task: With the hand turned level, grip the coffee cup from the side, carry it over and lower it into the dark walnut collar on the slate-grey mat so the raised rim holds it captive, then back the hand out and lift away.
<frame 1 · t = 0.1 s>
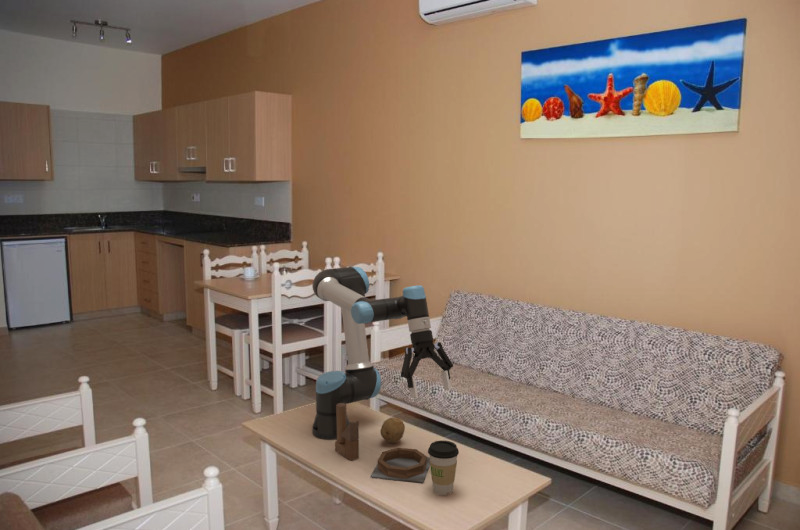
hand: (431, 393, 204), 28 cm above the table, tool tilted 20°, fingers open, 13 cm apart
coffee cup: (442, 490, 195), on the table
wooden block: (346, 455, 221), on the table
cup collar: (402, 468, 210), on the table
brown round lump: (392, 443, 230), on the table
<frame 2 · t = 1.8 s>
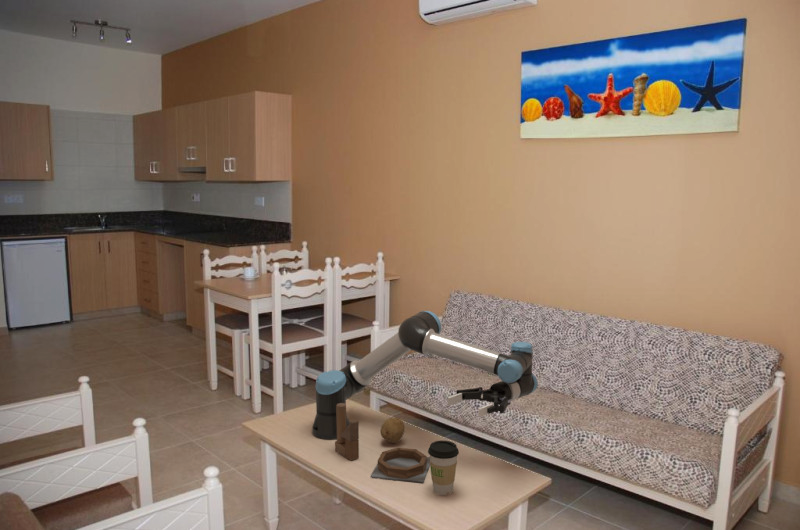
hand: (463, 407, 198), 25 cm above the table, tool horizontal, fingers open, 13 cm apart
nothing on the table moved.
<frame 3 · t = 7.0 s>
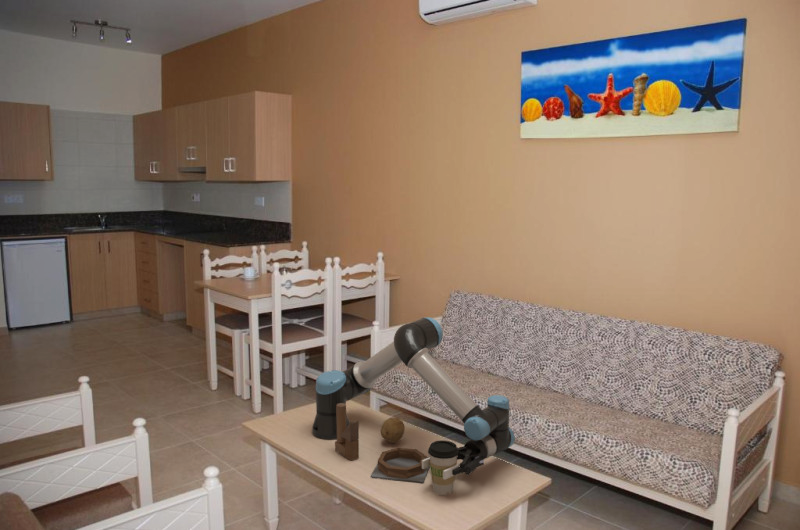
hand: (433, 469, 191), 9 cm above the table, tool horizontal, fingers closed on coffee cup, 9 cm apart
coffee cup: (443, 490, 195), on the table, touching gripper
everything else where it was.
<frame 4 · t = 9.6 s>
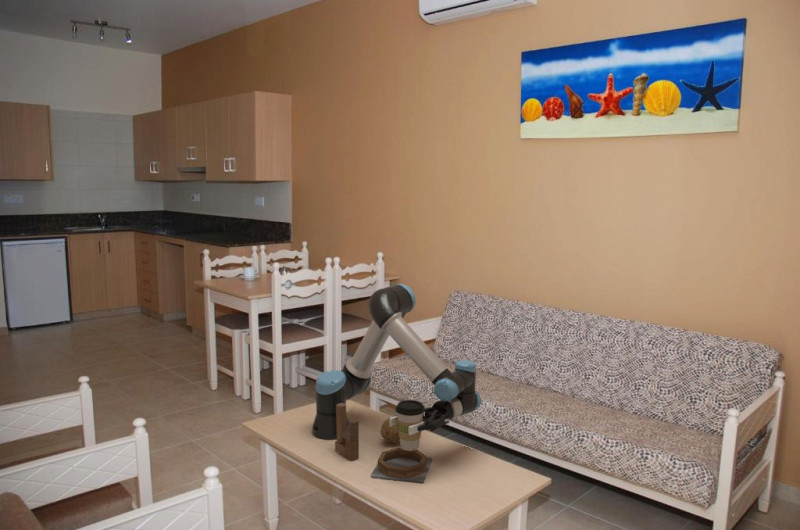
hand: (399, 426, 202), 18 cm above the table, tool horizontal, fingers closed on coffee cup, 9 cm apart
coffee cup: (409, 447, 206), point 9 cm above the table, touching gripper
everything else where it was.
when the fingers open (11 cm above the table, at t = 12.5 s): coffee cup drops 1 cm, resting on cup collar.
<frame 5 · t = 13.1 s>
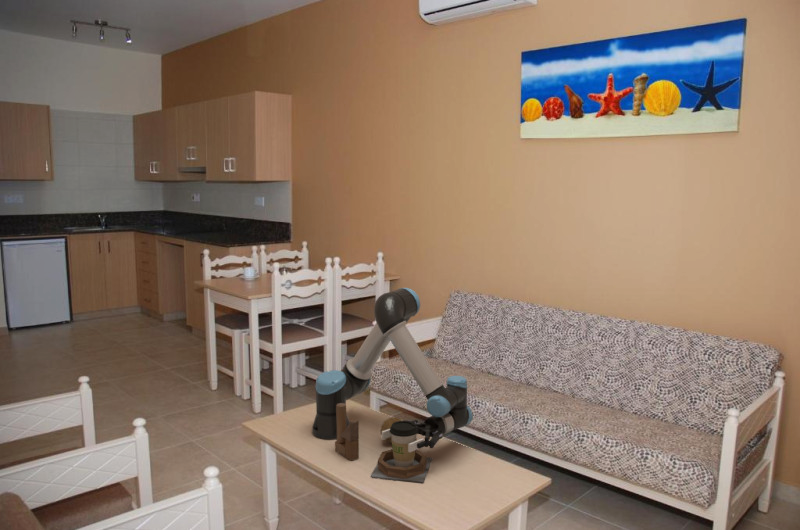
hand: (395, 441, 207), 11 cm above the table, tool horizontal, fingers open, 13 cm apart
coffee cup: (404, 467, 210), resting on cup collar
everything else where it was.
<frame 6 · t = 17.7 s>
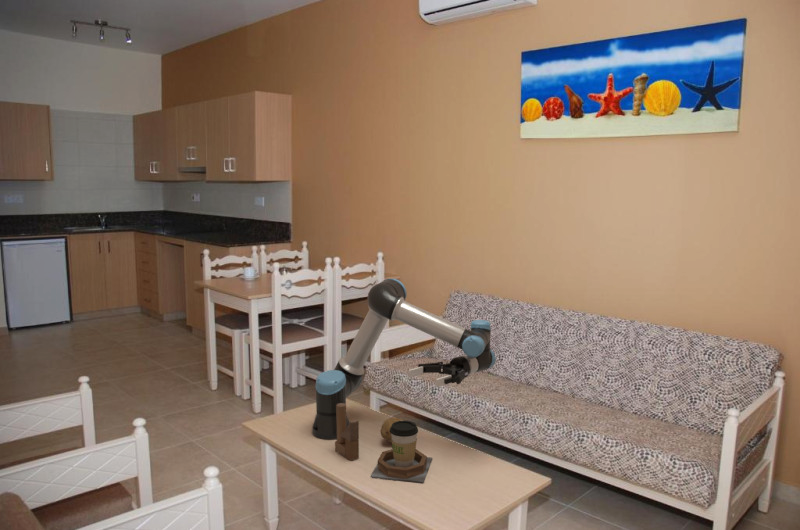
hand: (422, 378, 213), 30 cm above the table, tool horizontal, fingers open, 13 cm apart
nothing on the table moved.
at the end: coffee cup 0.6 cm off-centre on the cup collar, point 0.4 cm above the cup collar's base; coffee cup tilted 0°; the gripper is holding nothing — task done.
